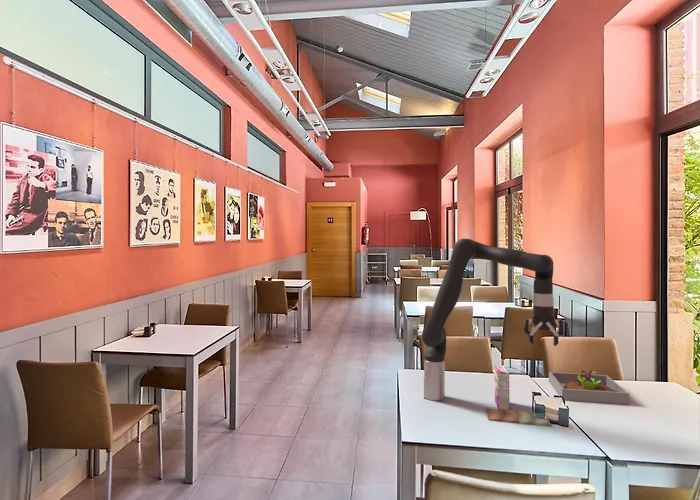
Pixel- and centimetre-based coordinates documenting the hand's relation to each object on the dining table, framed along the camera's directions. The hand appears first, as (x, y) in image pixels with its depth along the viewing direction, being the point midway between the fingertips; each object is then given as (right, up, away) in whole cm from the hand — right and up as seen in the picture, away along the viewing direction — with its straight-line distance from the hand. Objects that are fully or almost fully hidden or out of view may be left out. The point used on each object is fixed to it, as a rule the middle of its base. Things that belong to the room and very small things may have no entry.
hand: (543, 344), depth 169 cm
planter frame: (+35, -30, +32) cm, 56 cm away
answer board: (-10, -30, +3) cm, 32 cm away
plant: (+37, -31, +33) cm, 59 cm away
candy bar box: (-11, -31, +16) cm, 36 cm away
